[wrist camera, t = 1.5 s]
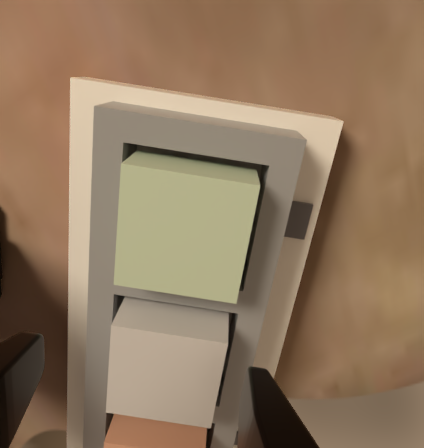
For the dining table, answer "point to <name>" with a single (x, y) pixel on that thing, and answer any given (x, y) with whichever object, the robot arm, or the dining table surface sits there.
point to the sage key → (184, 225)
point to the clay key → (152, 434)
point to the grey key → (166, 361)
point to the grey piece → (258, 243)
